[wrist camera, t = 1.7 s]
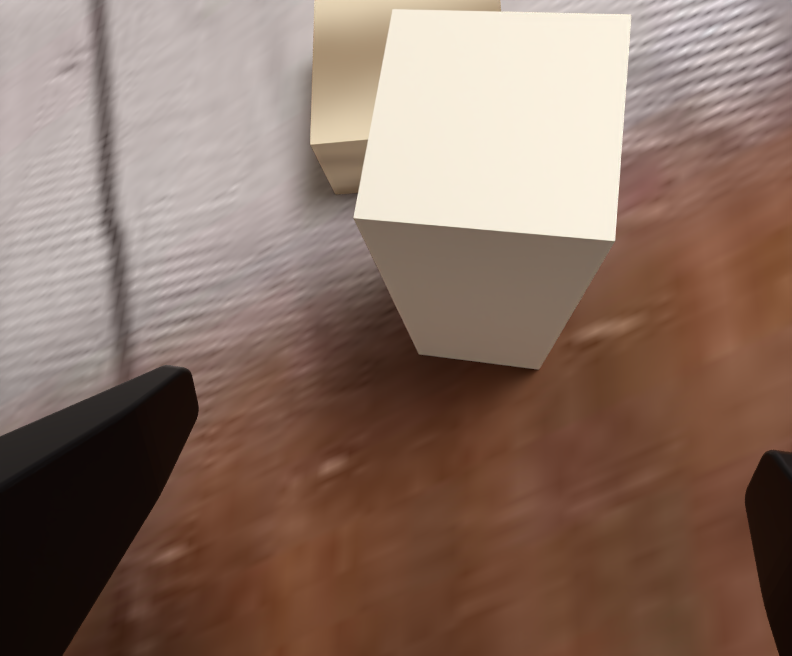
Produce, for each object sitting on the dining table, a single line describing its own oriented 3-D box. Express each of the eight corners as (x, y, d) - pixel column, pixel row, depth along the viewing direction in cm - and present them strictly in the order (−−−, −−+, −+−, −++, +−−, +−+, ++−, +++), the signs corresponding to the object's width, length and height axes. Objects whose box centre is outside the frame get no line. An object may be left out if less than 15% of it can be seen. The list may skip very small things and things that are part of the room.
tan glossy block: (503, 184, 23) (509, 126, 19) (336, 197, 24) (310, 144, 20) (494, 40, 25) (497, -39, 21) (339, 57, 26) (314, -15, 22)
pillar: (539, 369, 21) (614, 240, 9) (418, 354, 22) (353, 218, 10) (550, 255, 22) (631, 14, 10) (435, 244, 23) (392, 9, 11)
